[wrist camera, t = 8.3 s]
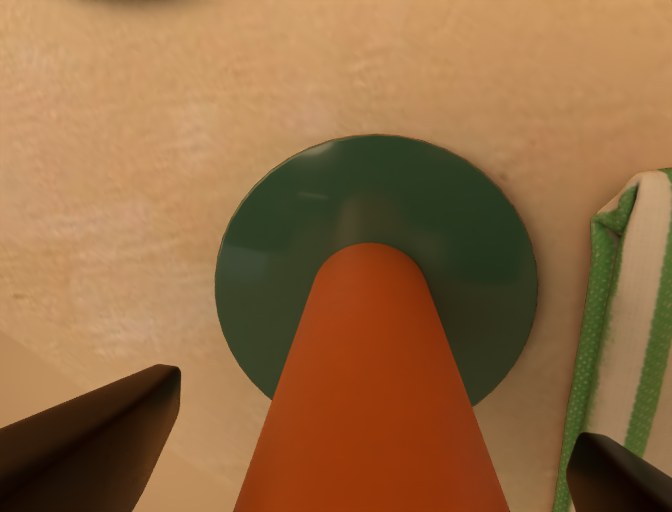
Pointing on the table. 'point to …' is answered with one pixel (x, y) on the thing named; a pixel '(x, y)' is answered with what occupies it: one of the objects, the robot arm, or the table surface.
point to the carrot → (370, 403)
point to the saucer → (385, 228)
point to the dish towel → (626, 330)
